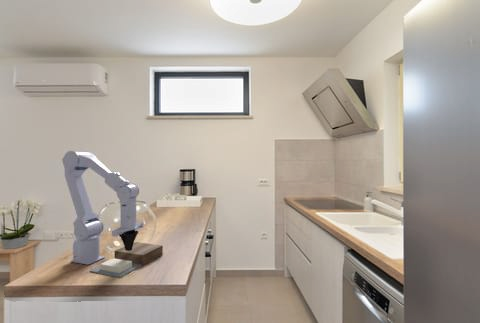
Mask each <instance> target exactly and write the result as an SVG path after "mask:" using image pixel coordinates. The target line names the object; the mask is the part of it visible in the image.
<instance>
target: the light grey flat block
mask: <svg viewBox="0 0 480 323" xmlns="http://www.w3.org/2000/svg"><path fill="white" fill-rule="evenodd" d="M99 266H100V270H105V271H111V272H116V273H121V272H123V271H125V270H127V269H129V268H131V267H132V261H127V260H121V259H115V257H114V258H111V259H108V260H107V261H104V262H102V263H100V264H99Z"/></svg>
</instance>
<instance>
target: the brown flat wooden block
mask: <svg viewBox="0 0 480 323" xmlns="http://www.w3.org/2000/svg"><path fill="white" fill-rule="evenodd" d="M163 248H164V247H163V245H162V244H154V243H152V244H151V243H146V242H139V241H137V242H136V241H135V242H134V243H133V247H132V250H131V251H126V250H125V247H124V246H123V247H120V248H118V249H115V250H114V252H113V254H114V258H115V259H121V260H127V261H132V263H135V264H141V265H142V266H141V267H143V266H145V265H147V264H149V263H150V262H153V261H154V260H156V259H158V258H160V257H161V256H163V254H164V253H163Z"/></svg>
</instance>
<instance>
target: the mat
mask: <svg viewBox="0 0 480 323" xmlns="http://www.w3.org/2000/svg"><path fill="white" fill-rule="evenodd" d="M141 267H143V266H142V265H141V264H135V263H132V267H131V268H129V269H127V270H125V271H123V272H121V273H116V272H111V271H105V270H100V265H99V266H97V267H95V268H93V269H91V270H89V272H90V273H95V274H99V275H100V274H101V275H106V276H110V277H115V278H122V277H125V276H126V275H128V274H130V273H132V272H134V271H136V270H138V269H139V268H141Z"/></svg>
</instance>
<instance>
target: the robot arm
mask: <svg viewBox="0 0 480 323" xmlns="http://www.w3.org/2000/svg"><path fill="white" fill-rule="evenodd" d="M61 161H62V164H63V167H64V178H65V182H66V184H67V186H68V191H69V194H70V198H71V201H72V204H73V206H74V210H75V213H76V216H77V217H76V218H75V220H74V221H73V235H74V237H75V238H76V239H75V240H74V241H73V245H72V259H71V260H70V262H71V263H77V264H80V265H81V264H83V265H87V266H88V265H90V264H93V263H96V262H97V261H101V260H103V259H105V258H106V257H105V256H104V255H100V252H101V251H100V244H101V243H100V240H101V239H100V236H101V233H102V232H103V231H104V228H105V226H104V223H103V221H102V220H101V219H100V216H99V215H98V214H97V213H95V212H93V208H92V205H91V202H90V199H89V196H88V193H87V189H86V186H85V183H84V181H83V174H84V173H85V172H86V171H88V169H91V170H92V171H93V172H94V173H96V174H97V175H99V176H100V177H102V178H103V179H104V184H106V185H107V186H108V187H109V188H110V189H112V190H113V191H114V192H115V193H116V196H117V198H118V200H119V204H120V205H119V206H120V208H119V209H120V213H119V214H120V219H119V220H120V226H119V227H117V228H116V229H113V230H111V237H114V238H115V237H118V236H119V238H120V237H121V238H120V239H121V242H123V243H122V244H123V247H125V250H126V251H131V250H132V247H133V243H135V242H134V241H135V240H136V239H137V236H138V234H139V230H138V229H141V228H144V222H137V197H138V196H139V193H140V189H139V187H138V186H137V184H136V183H131V182H130V181H129V180H127V179H125V178H124V177H123V176H121V174H122V173H121V172H116V171H110V169H108V168H107V167H106V165H104V164H103V163H102V162H101V161H100V160H99V159H98V158H97V156H96V155H95V154H93V153H92V152H91V151H75V150H69V151H66V152H65V153H64V155H63V158H62V160H61Z"/></svg>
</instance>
